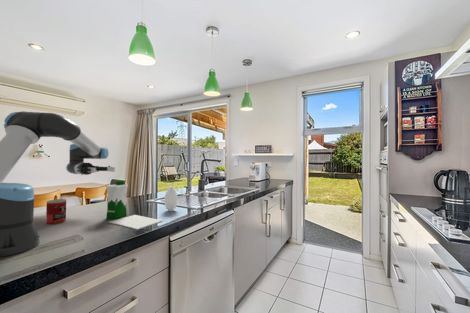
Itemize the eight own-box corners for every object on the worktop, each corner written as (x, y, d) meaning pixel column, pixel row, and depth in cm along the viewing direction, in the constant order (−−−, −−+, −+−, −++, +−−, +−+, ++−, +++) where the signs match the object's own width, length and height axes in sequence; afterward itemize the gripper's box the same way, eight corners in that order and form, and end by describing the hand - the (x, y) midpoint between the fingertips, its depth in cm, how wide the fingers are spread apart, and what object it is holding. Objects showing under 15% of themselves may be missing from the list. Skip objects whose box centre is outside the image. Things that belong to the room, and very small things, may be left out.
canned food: (54, 224, 103) (55, 202, 103) (41, 223, 104) (42, 201, 105) (69, 220, 110) (70, 199, 110) (57, 219, 112) (58, 198, 112)
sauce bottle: (173, 212, 128) (174, 183, 128) (162, 211, 129) (162, 182, 130) (179, 209, 136) (179, 181, 136) (168, 209, 137) (168, 181, 137)
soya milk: (129, 215, 120) (129, 180, 120) (116, 220, 111) (117, 182, 111) (116, 214, 122) (116, 180, 122) (103, 219, 113) (103, 182, 113)
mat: (162, 221, 110) (162, 220, 110) (137, 229, 97) (137, 228, 97) (135, 215, 120) (135, 214, 120) (109, 222, 107) (109, 221, 107)
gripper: (102, 173, 143) (123, 174, 132) (62, 175, 123) (82, 177, 112) (103, 162, 143) (123, 163, 132) (62, 162, 123) (83, 163, 112)
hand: (104, 169), depth 122 cm, fingers open, 10 cm apart
